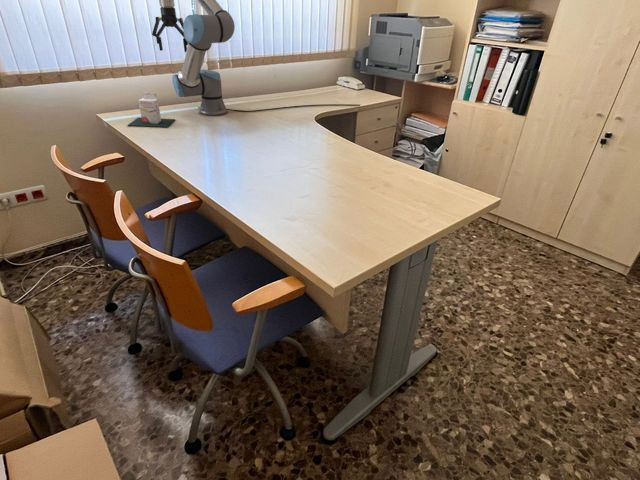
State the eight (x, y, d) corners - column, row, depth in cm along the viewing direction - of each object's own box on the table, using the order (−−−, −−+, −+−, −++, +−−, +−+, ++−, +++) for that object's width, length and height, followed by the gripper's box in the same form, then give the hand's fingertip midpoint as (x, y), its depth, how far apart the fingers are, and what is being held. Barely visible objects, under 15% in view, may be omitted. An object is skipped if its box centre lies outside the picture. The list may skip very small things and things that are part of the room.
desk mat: (175, 120, 217) (174, 119, 216) (167, 127, 205) (166, 126, 205) (138, 118, 216) (138, 117, 216) (128, 126, 204) (127, 125, 204)
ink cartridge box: (142, 122, 208) (136, 93, 200) (146, 120, 212) (140, 91, 205) (157, 123, 208) (152, 95, 200) (161, 121, 212) (156, 92, 204)
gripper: (193, 7, 212) (197, 51, 223) (146, 5, 211) (153, 49, 223) (189, 8, 206) (194, 52, 217) (141, 5, 205) (148, 50, 216)
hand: (173, 51), depth 220 cm, fingers open, 13 cm apart
